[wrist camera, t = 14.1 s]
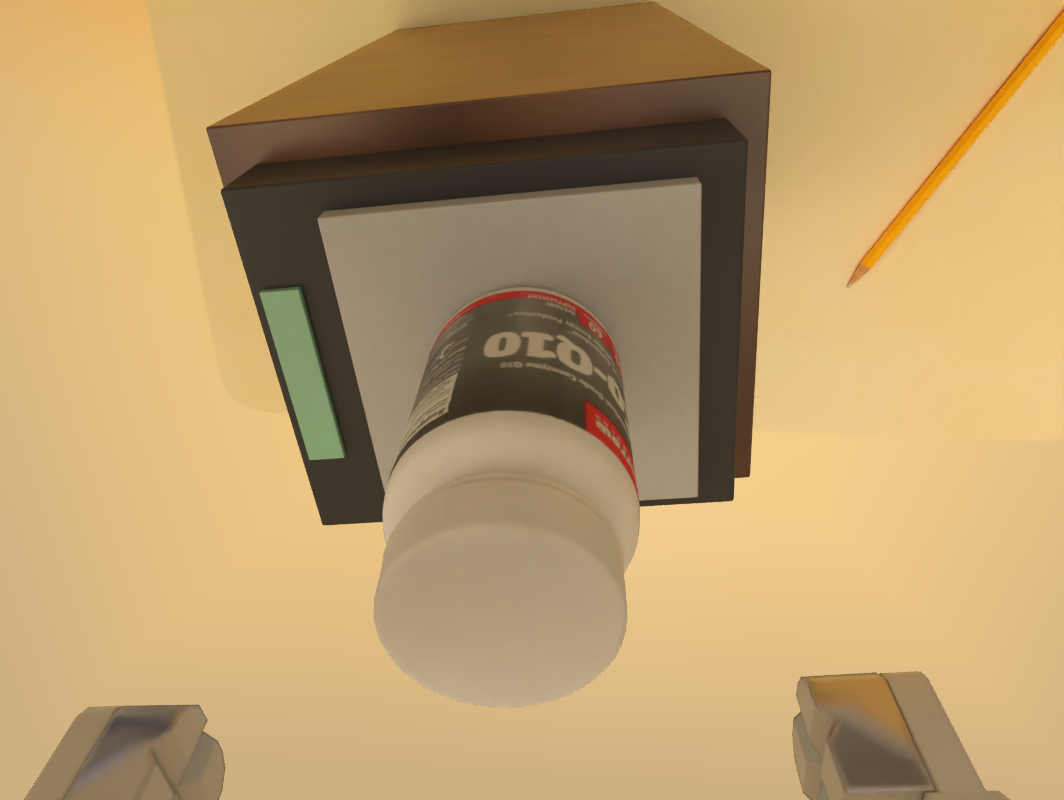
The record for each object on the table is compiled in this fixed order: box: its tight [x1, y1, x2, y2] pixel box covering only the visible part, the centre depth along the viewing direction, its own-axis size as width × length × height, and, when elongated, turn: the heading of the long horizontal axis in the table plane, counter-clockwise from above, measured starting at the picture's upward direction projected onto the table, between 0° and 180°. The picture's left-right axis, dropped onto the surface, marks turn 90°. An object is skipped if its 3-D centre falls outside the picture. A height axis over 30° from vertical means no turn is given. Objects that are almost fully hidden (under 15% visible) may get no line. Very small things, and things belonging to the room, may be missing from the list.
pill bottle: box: [374, 287, 640, 708], centre depth 16 cm, size 5×5×8 cm
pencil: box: [847, 11, 1064, 288], centre depth 44 cm, size 1×19×1 cm, turn 151°
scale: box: [221, 119, 748, 525], centre depth 20 cm, size 12×10×3 cm
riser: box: [206, 2, 771, 478], centre depth 33 cm, size 14×12×26 cm
